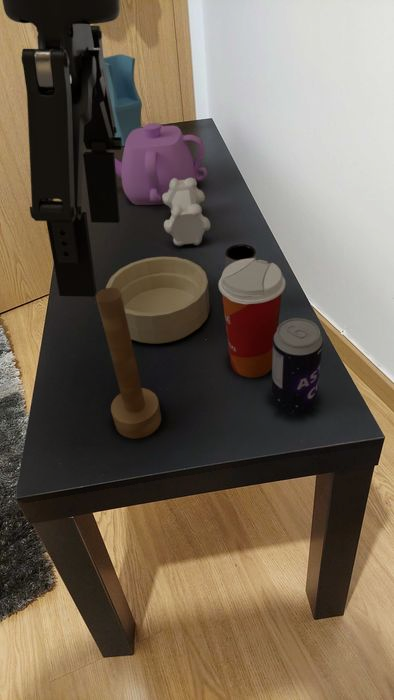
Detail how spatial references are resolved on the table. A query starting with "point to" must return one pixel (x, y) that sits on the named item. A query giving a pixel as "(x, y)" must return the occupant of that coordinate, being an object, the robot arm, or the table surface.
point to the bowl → (162, 298)
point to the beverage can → (296, 365)
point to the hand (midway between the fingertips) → (93, 253)
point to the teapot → (157, 162)
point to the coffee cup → (251, 313)
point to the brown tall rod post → (126, 372)
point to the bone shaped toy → (185, 212)
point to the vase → (123, 94)
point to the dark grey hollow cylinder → (239, 253)
